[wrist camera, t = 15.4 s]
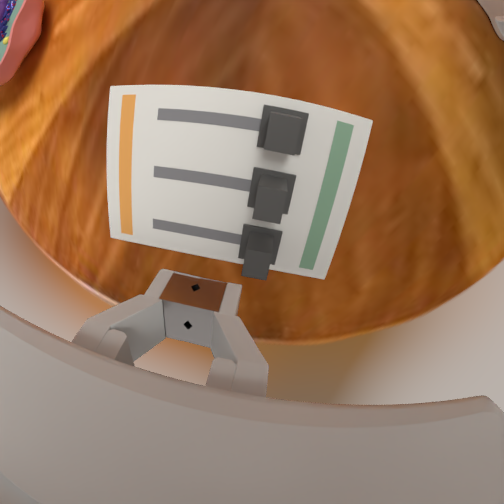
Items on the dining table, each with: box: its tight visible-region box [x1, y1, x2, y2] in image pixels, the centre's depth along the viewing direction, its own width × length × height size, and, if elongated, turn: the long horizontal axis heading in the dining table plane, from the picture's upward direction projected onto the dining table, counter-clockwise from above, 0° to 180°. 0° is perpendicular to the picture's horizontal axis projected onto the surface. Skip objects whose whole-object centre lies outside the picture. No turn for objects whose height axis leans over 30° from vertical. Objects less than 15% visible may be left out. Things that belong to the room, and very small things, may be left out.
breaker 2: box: [257, 105, 309, 155], centre depth 21 cm, size 4×4×4 cm
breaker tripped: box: [247, 167, 296, 224], centre depth 24 cm, size 4×4×4 cm
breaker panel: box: [107, 85, 373, 279], centre depth 28 cm, size 26×18×3 cm
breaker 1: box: [238, 224, 283, 280], centre depth 28 cm, size 4×4×4 cm
